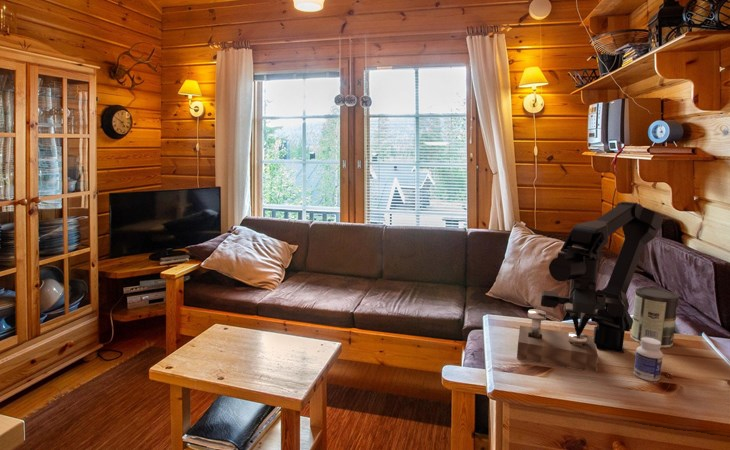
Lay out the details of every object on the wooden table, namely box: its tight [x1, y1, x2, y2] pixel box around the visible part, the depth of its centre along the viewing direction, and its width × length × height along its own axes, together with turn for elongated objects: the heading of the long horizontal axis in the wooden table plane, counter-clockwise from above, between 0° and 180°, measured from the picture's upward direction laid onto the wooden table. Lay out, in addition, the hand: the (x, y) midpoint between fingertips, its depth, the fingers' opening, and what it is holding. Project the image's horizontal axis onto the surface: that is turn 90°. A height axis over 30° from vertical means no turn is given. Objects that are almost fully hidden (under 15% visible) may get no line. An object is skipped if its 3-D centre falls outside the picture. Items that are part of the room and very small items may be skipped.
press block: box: [516, 325, 599, 373], centre depth 112 cm, size 18×12×4 cm, turn 68°
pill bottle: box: [633, 337, 664, 382], centre depth 102 cm, size 5×5×9 cm
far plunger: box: [527, 308, 547, 337], centre depth 113 cm, size 4×4×6 cm
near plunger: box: [568, 331, 589, 345], centre depth 110 cm, size 4×4×6 cm
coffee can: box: [630, 287, 680, 349], centre depth 122 cm, size 10×10×14 cm
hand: (578, 335), depth 110 cm, fingers closed, pressing on near plunger
